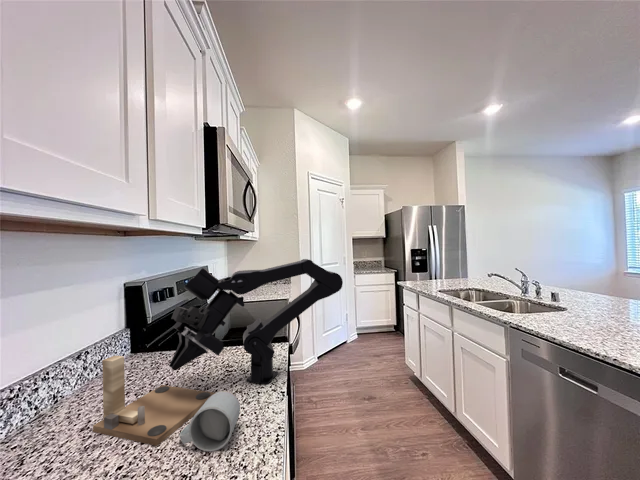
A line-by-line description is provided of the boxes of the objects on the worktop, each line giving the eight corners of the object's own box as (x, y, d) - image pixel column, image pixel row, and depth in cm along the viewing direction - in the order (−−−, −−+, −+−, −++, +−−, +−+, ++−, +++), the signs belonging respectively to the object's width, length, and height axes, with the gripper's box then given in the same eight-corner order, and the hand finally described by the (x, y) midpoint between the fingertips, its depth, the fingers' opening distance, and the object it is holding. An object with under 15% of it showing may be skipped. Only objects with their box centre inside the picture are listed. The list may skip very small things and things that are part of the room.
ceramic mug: (242, 422, 60) (241, 384, 60) (232, 450, 51) (230, 407, 51) (190, 426, 59) (188, 388, 59) (171, 455, 51) (169, 411, 51)
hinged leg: (142, 417, 60) (141, 358, 60) (131, 424, 57) (130, 363, 57) (115, 412, 62) (114, 355, 62) (103, 419, 59) (102, 360, 59)
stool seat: (162, 389, 74) (162, 372, 74) (215, 397, 69) (215, 379, 69) (93, 431, 58) (92, 409, 58) (156, 446, 53) (156, 421, 53)
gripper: (180, 289, 78) (133, 341, 70) (208, 297, 65) (154, 362, 57) (210, 313, 83) (170, 363, 76) (242, 325, 70) (196, 387, 62)
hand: (172, 368), depth 68 cm, fingers closed
